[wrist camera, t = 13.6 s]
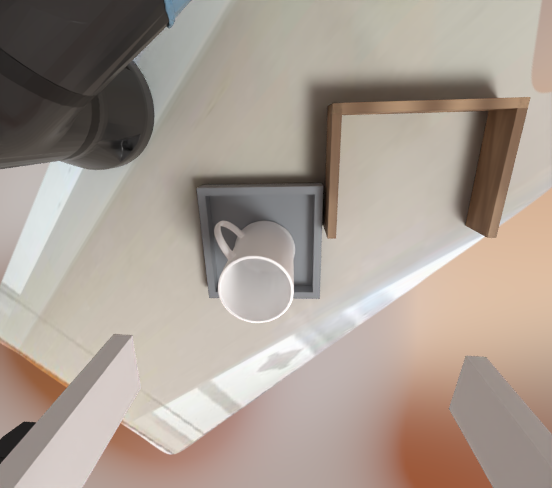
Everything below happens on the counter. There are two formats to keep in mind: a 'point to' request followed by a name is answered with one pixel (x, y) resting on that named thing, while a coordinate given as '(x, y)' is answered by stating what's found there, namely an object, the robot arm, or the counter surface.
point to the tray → (265, 207)
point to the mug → (257, 271)
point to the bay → (491, 165)
